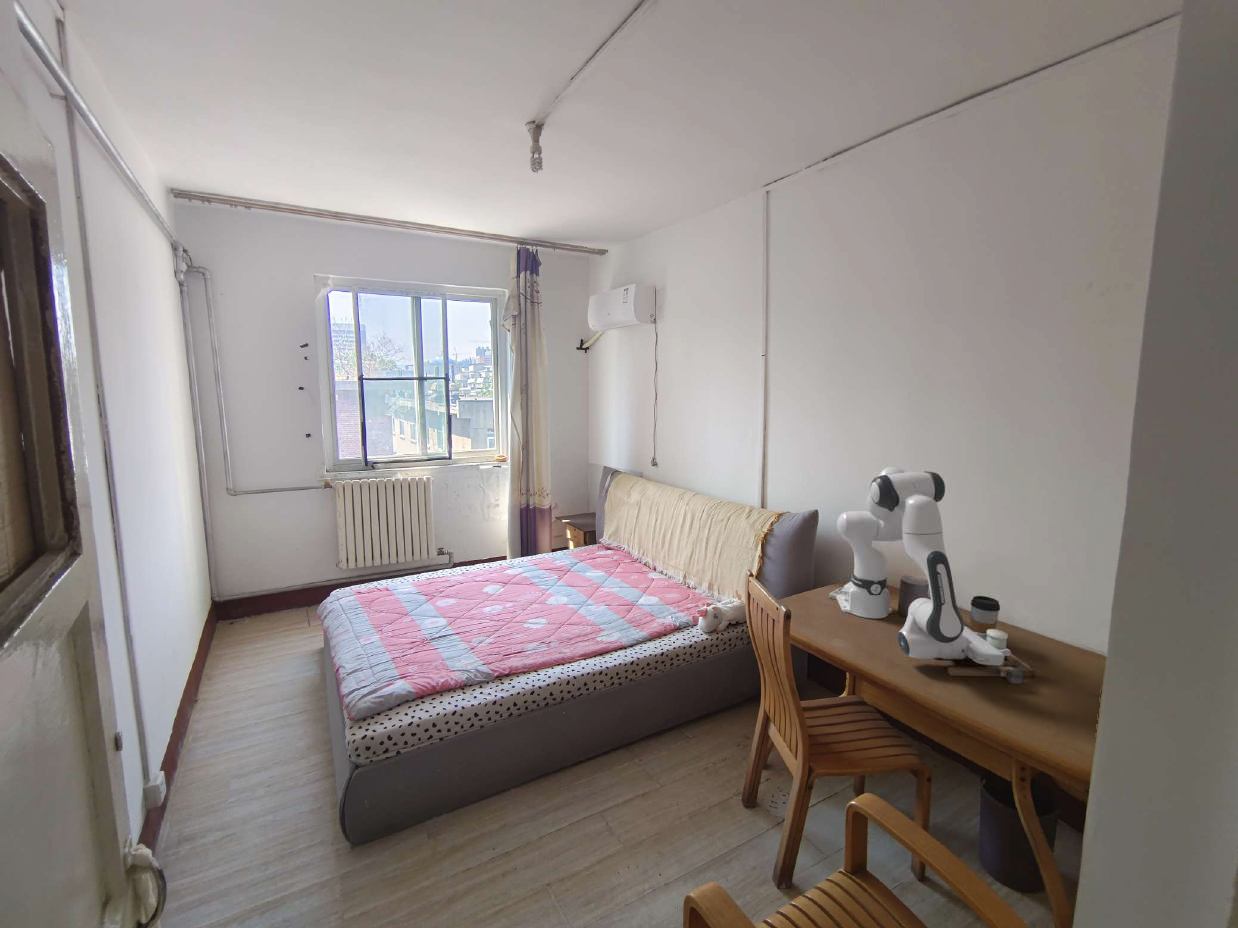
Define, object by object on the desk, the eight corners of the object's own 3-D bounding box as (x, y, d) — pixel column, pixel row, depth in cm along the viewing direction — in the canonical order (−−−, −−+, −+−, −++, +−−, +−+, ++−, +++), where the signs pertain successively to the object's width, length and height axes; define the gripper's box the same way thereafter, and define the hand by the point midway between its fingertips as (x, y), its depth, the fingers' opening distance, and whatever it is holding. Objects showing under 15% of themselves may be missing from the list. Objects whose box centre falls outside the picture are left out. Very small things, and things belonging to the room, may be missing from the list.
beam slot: (927, 655, 183) (928, 646, 182) (1006, 656, 182) (1007, 647, 182) (957, 682, 166) (958, 672, 166) (1043, 683, 166) (1044, 673, 166)
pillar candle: (891, 611, 217) (894, 573, 215) (909, 606, 221) (912, 570, 219) (914, 621, 209) (917, 582, 206) (932, 616, 213) (935, 578, 210)
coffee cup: (966, 634, 198) (971, 593, 195) (995, 640, 193) (1000, 598, 191) (966, 644, 191) (971, 601, 188) (996, 650, 186) (1001, 606, 184)
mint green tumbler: (979, 661, 179) (982, 628, 177) (996, 661, 179) (1000, 629, 177) (990, 669, 174) (994, 636, 172) (1008, 670, 174) (1012, 636, 172)
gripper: (975, 650, 165) (1023, 650, 164) (937, 620, 185) (979, 621, 185) (973, 670, 166) (1020, 671, 165) (935, 638, 186) (978, 639, 186)
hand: (999, 644), depth 175 cm, fingers open, 8 cm apart
